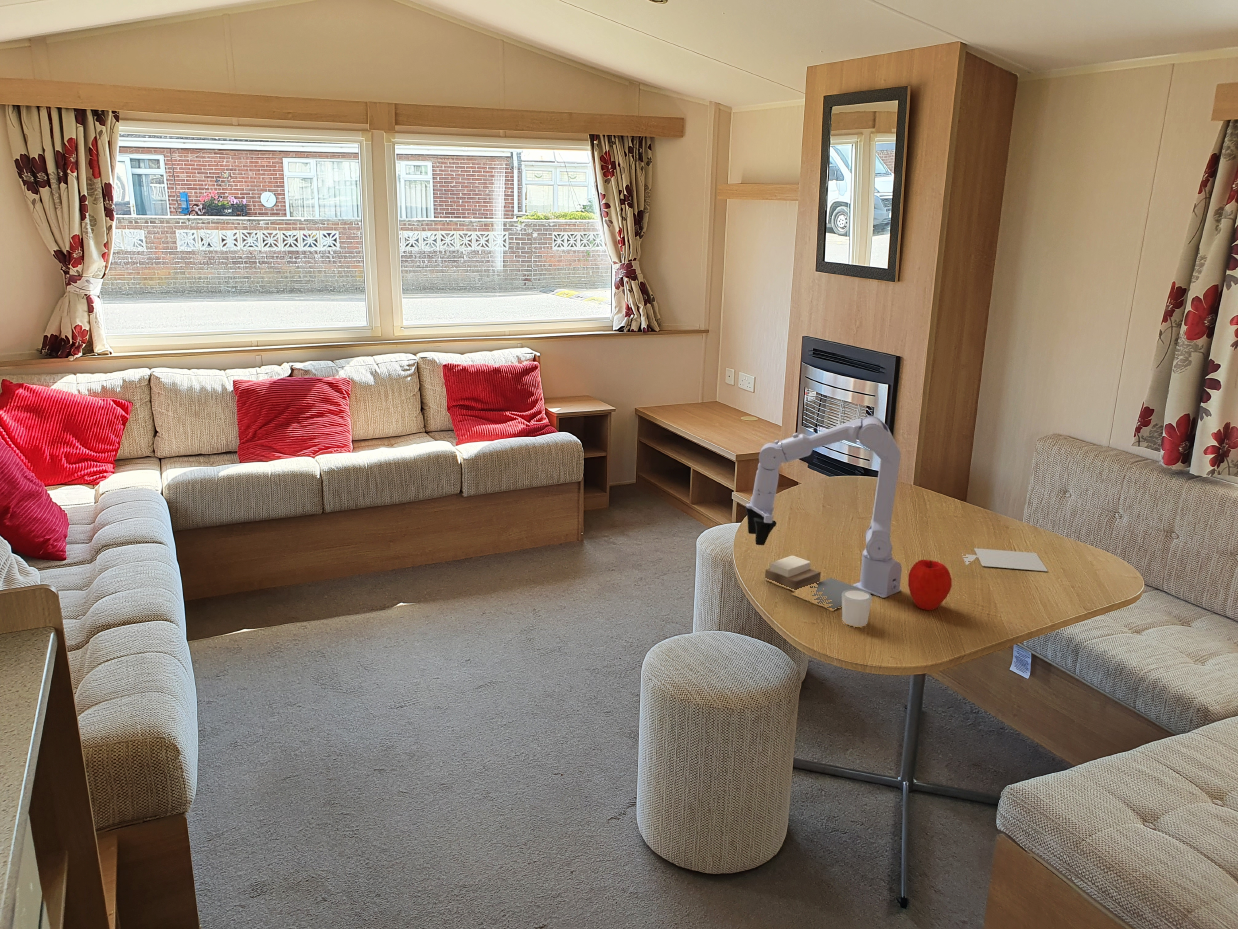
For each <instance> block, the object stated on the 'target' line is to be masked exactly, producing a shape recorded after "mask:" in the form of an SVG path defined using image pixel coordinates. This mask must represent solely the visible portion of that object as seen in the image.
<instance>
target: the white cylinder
mask: <svg viewBox="0 0 1238 929" xmlns="http://www.w3.org/2000/svg"><path fill="white" fill-rule="evenodd" d="M872 600H873V594H872V595H871V594H869V593H868V592H865V591H862V590H854V589H851V590H846V591H843V592H842V608H841V618H842V619H841V621H842V620H843V621H844V622H845V623H846V624H849V625H853V626H864V625H866V624H867V625H868V621H869V620H868V619H869V617H870V616H869V615H870V611H871V605H872ZM843 621H842V622H843ZM867 625H866V626H867Z"/></svg>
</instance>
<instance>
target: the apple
mask: <svg viewBox="0 0 1238 929" xmlns="http://www.w3.org/2000/svg"><path fill="white" fill-rule="evenodd" d="M907 580H908V581H907V582H908V584H907V585H908V590H909V593H910V596H911V598H912V601H913V602H914V604H915V605H916V606H917V607H918V608H920V609H922V610H927V611H933V610H936V609H938V608H939V607H940V605H941V604H942V603H944V601H945V600H946V599H947V597H948V595H949V593H950V592H951V589H952V582H953V580H952V577H951V572H950V571H949V569H948V567H947V566H946V565H945V564H943V563H942V562H939V561H936V560H932V559H920V560H918V561H916V562H915V563H914V564H913V566H912V567H911V568H910V570H909V572H908V579H907Z"/></svg>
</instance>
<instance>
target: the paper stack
mask: <svg viewBox="0 0 1238 929" xmlns="http://www.w3.org/2000/svg"><path fill="white" fill-rule="evenodd" d="M973 550H974V551H975V554H967V553H965V554H966V556H962V555H963V554H964V553H961V556H962V558H963V557H968V558H963V560H964V564H965V565H966V566H967V565H969V564H970V563H971V562H973V561H974V560H976V559H977V558H978V559H979V563H980V564H981V566H982V567H990V568H992V567H993V568H1002V569H1003V568H1004V569H1005V568H1006V569H1016V570H1029V571H1039V572H1048V569H1047V568H1046V566H1045V564H1044V563H1043V562H1042V560H1041V558H1040V557H1039V555H1038V553H1036V552H1025V551H1012V550H1003V549H1002V550H1001V549H990V548H988V549H987V548H976V547H974V548H973ZM976 557H977V558H976ZM975 558H976V559H975ZM965 561H966V562H965ZM968 561H971V562H968Z"/></svg>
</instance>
